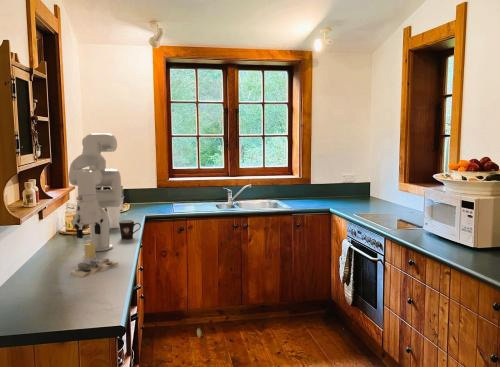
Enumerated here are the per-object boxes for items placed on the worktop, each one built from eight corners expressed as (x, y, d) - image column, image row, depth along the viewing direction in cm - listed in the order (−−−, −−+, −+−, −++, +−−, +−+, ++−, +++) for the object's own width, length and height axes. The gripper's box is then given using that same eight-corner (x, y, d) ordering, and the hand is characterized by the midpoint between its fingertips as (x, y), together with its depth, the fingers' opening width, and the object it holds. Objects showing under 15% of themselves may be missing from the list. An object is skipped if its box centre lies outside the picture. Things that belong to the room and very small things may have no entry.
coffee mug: (116, 239, 262) (115, 222, 260) (124, 236, 270) (123, 219, 269) (134, 240, 259) (134, 223, 258) (142, 237, 267) (141, 220, 266)
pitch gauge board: (82, 277, 195) (82, 267, 195) (70, 274, 199) (69, 265, 199) (118, 265, 212) (117, 256, 212) (106, 262, 216) (105, 254, 216)
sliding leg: (95, 268, 202) (94, 246, 200) (85, 265, 205) (83, 244, 204) (100, 266, 204) (99, 244, 203) (90, 264, 208) (89, 242, 206)
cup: (103, 227, 295) (102, 199, 293) (119, 224, 302) (118, 198, 299) (109, 229, 287) (107, 201, 285) (125, 227, 293) (124, 200, 291)
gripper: (76, 201, 192) (78, 240, 194) (108, 196, 207) (109, 233, 209) (64, 200, 196) (67, 238, 198) (97, 195, 211) (98, 231, 212)
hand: (89, 236), depth 203 cm, fingers open, 9 cm apart
